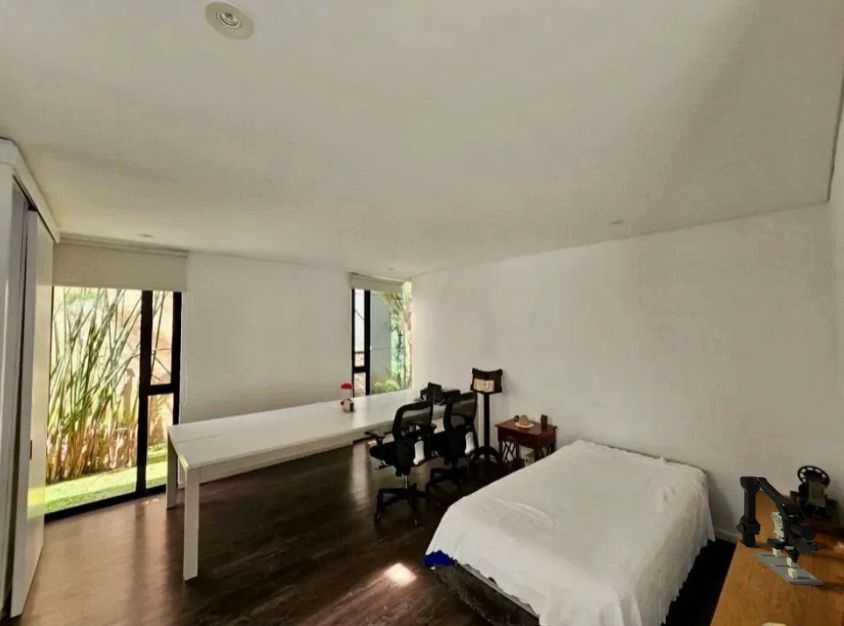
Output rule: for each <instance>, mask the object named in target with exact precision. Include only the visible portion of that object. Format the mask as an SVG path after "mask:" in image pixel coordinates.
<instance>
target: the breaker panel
mask: <svg viewBox="0 0 844 626" xmlns="http://www.w3.org/2000/svg"><path fill="white" fill-rule="evenodd" d="M751 554H752V555H753V556H754V557H755V558H756V559H757V560H759V561H760V562H761V563H762V564H764V565H765V566H766V567H768V568H769V569H770V570H771V571H773V572H774V573H776V575H778V576H779V577H780V578H782V579H783V580H784V581H786V583H788V584H789V585H791V584H792V585H793V584H794V585H811V586H812V585H813V586H814V585H815V586H824V584H823V581H821V580H820V579H819V578H817V577H816V576H815V575H813V574H812V573H810V572H809V571H807V570H806V569H804V568H803V567H802V566H800V565H799V564H797V563H795V565H796V567H790V566H789V565H788V564H787V558H789V557H788V556H786V555H785V554H783V553H782V552H781V557H777V556H775V555H774V554H773V551H772V552H769V551H768V552H767V551H761V552H760V551H751ZM788 568H792V569H794V570H795V571H797V578H798V579H795V578H792V577H790V576H789V574H788Z"/></svg>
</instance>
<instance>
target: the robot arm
mask: <svg viewBox="0 0 844 626" xmlns="http://www.w3.org/2000/svg"><path fill="white" fill-rule="evenodd" d="M739 483H740V486H741V488H742V489H743V493H744V494H743V514H742V516H741V517H740V518H739V523H738V524H737V525H736V526H735V529H736V531H737V532H738V533H739V534H740V535H741V539H738V541H739V542H740V543H741V544H742V545H744V546H745V547H748V548H760V545H758V544H757V539H756V536H760V532H761V526H762V525H761V523H760V522H759V521H758V520H757V518H756V517H757V516H756V515H757V493H758V492H759V491H760V490H762V491H763V492H764V493H765V494H766V495H767V496H768V497H769V498H770V499H771V500H772V501H773V502H774V507H775V508H776V510H777V511H778V512H779V514H778V515H779V516H781V517H782V526H783V528H781V531H783V535H784V537H782V539H783V540H784V542H780V541H779V540H778V539H776V538H775V537H774V538H773V537H772V538H769V537H768V538H767V539H766V544H767V545H769V546H770V547H772V549H773V548H774V549H776V550H780V551H784V550H785V552H786V553H787V555H788V556H789V557H788V558H791V560H792V562H793V563H796V564H797V563H798V561H799V557H800V556H801V554H802V555H807V554H808V555H811V554H812V552H820V546H819V545H818V544H817V543H815V542H814V541H813V540H815V538H816V535H817V534H816V532H815V530H814V529H813V528H811V525H810V524H808V523H806V522H807V519H806V516H805V514H804V513H803V512H802V510H801V508H800V506H799V505H798V504H797V503H796V502H794V501H793V500H792V499H789V498H787V497H785V496H784V495H782V494H781V493H780V492H779V491H778V490H777V489H776V488H775V487H774V486H773V485H772V484H771V483H770V482H769V481H768V479H767V478H766V477H765V476H755V475H754V476H753V475H747V476H746V475H745V476H743V475H742V476H740V477H739ZM790 515H792V516H794V517H792V516H790ZM803 538H804V539H803Z"/></svg>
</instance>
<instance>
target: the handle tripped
mask: <svg viewBox="0 0 844 626" xmlns="http://www.w3.org/2000/svg"><path fill="white" fill-rule="evenodd" d="M788 574H789V576H790V577H792V578H795V579H798V578H797V571H795V570H794V569H792V568H788Z"/></svg>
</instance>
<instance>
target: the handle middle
mask: <svg viewBox="0 0 844 626" xmlns="http://www.w3.org/2000/svg"><path fill="white" fill-rule="evenodd" d="M787 564H788V565H789V566H790V567H796V565H795V563H793V562H792V560H791V558H790V557H788V558H787Z"/></svg>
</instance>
